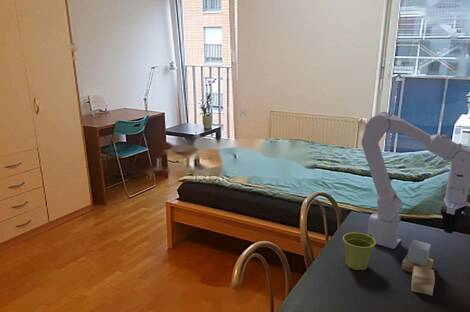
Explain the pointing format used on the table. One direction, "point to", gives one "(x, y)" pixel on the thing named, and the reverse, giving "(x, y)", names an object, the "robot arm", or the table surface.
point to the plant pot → (358, 250)
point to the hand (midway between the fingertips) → (450, 228)
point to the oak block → (409, 265)
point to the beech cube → (423, 280)
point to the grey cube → (419, 252)
